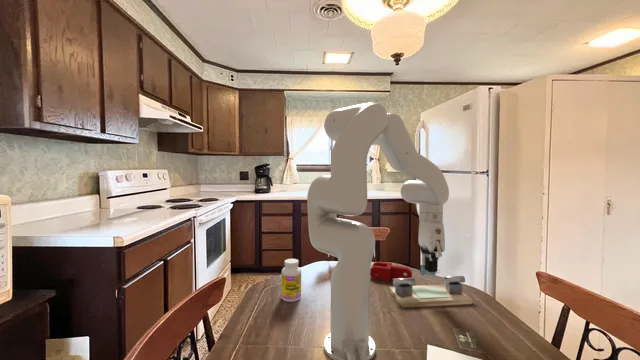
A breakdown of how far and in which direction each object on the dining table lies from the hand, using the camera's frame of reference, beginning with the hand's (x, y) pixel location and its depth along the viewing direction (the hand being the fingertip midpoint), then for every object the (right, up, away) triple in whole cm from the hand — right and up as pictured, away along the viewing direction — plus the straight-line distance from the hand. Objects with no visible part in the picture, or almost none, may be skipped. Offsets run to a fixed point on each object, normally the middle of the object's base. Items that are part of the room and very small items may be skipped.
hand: (429, 269), depth 97 cm
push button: (0, -2, 0) cm, 2 cm away
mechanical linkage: (-9, -9, +17) cm, 21 cm away
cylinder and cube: (0, -8, 0) cm, 8 cm away
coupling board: (0, -10, 0) cm, 10 cm away
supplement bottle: (-47, -10, -1) cm, 48 cm away
